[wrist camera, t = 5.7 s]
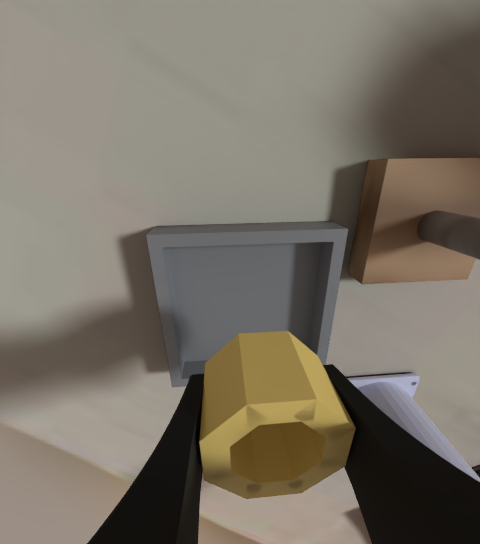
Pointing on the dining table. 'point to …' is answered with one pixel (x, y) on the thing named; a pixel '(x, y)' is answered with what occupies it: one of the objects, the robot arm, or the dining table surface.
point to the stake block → (417, 221)
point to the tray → (243, 286)
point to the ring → (270, 417)
